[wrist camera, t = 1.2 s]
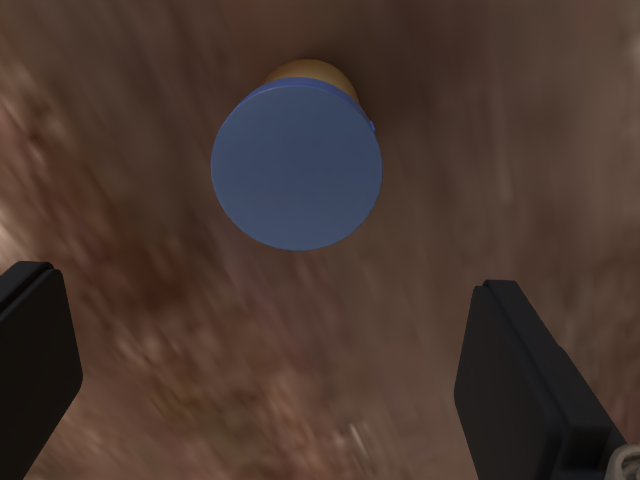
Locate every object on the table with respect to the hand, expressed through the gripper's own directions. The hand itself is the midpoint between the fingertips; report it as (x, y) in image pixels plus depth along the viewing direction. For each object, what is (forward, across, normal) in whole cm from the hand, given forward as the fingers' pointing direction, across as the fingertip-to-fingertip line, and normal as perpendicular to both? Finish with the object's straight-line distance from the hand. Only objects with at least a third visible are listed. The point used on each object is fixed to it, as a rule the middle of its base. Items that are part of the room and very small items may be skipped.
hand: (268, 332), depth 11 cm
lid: (+11, 0, 0) cm, 11 cm away
